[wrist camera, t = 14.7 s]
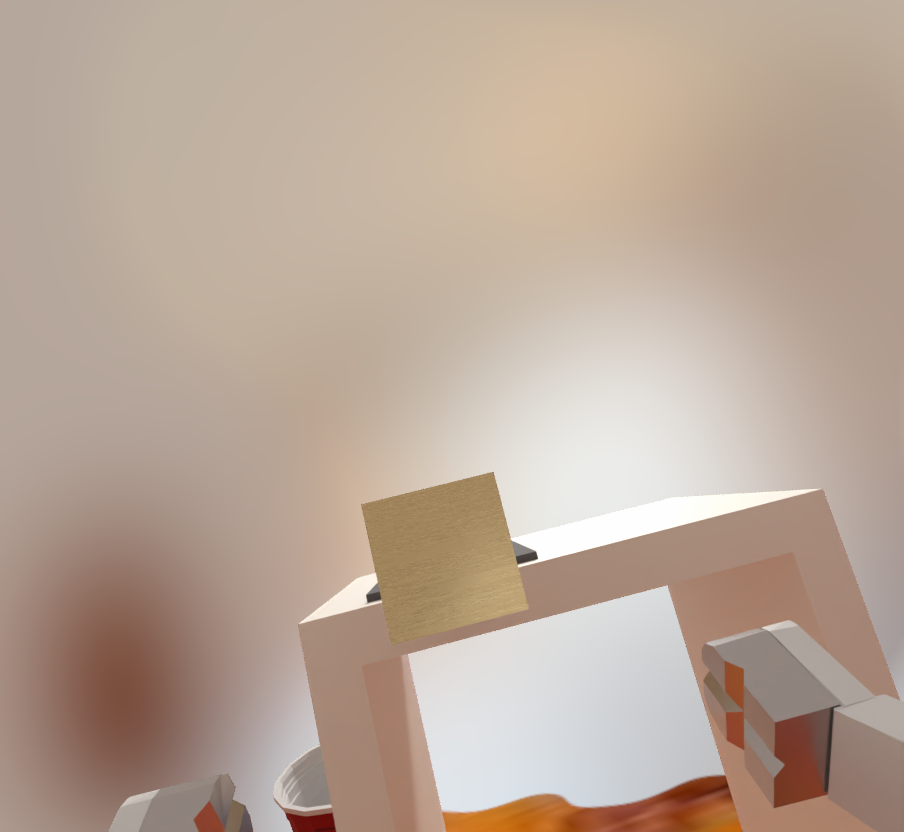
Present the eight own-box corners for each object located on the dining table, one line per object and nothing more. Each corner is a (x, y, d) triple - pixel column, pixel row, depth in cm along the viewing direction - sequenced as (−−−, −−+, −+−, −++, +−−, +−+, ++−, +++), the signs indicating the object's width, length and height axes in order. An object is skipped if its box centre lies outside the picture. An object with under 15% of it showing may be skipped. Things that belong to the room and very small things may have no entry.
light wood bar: (471, 544, 33) (460, 497, 33) (528, 609, 11) (493, 472, 12) (425, 556, 33) (414, 509, 33) (391, 645, 11) (361, 504, 12)
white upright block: (812, 943, 30) (670, 493, 35) (1121, 1306, 16) (820, 481, 21) (457, 1053, 29) (357, 572, 33) (468, 1544, 15) (296, 616, 20)
